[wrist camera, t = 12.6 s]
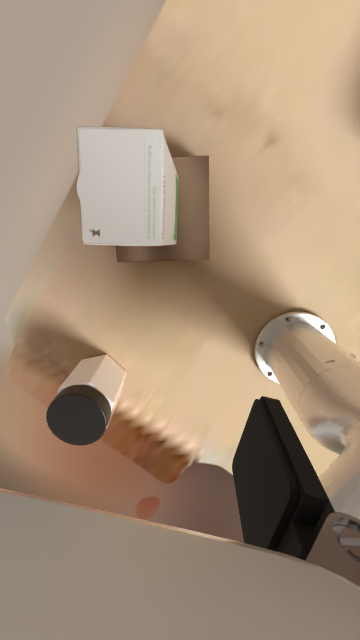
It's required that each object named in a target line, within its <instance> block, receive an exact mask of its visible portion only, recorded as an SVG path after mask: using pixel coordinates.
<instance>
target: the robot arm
mask: <svg viewBox="0 0 360 640" xmlns="http://www.w3.org/2000/svg"><path fill="white" fill-rule="evenodd" d="M287 317H288V319H286V318H287ZM320 325H321V326H320ZM260 342H262V343H260ZM254 354H255V359H256V363H257V365H258V367H259V369H260V370H261V372H262V373H263V374H264V375H265V376H266V377H267V378H268V379H270V380H271V381H273V382H276V383H278V384H280V385H281V387H282V389H283V391H284V392H285V394H286V396H287V397H288V399H289V401H290V403H291V404H292V406H293V408H294V409H295V411H296V413H297V415H298V416H299V418H300V420H301V421H302V423H303V425H304V427H305V428H306V430H307V431H308V433H309V434H310V435H311V436H312V438H313V439H314V440H315V441H317V442H318V443H319V444H320V445H322V446H323V447H325V448H326V449H328V450H330V451H332V452H335V453H337V454H339V456H338V457H337V458H336V459H335V460H334V461H333V462H332V463H331V464H330V465H329V467H328V468H327V469H326V470H325V471H324V472H323V473H322V474H321V475H320V476H319V477H318V476H317V474H316V472H315V470H314V468H313V466H312V464H311V462H310V460H309V458H308V456H307V454H306V452H305V450H304V448H303V446H302V444H301V442H300V440H299V438H298V436H297V434H296V432H295V430H294V429H293V427H292V425H291V423H290V421H289V419H288V417H287V415H286V413H285V411H284V409H283V407H282V405H281V403H280V401H279V400H277V399H272V398H268V397H264V396H262V397H261V398H260V400H258V399H256V400H255V401H254V403H253V406H252V408H251V411H250V414H249V417H248V420H247V422H246V425H245V428H244V431H243V434H242V436H241V439H240V442H239V445H238V447H237V450H236V453H235V456H234V459H233V464H232V470H233V477H234V482H235V489H236V495H237V501H238V506H239V513H240V519H241V525H242V531H243V538H244V543H242V542H238V541H234V540H229V539H225V538H220V537H216V536H212V535H207V534H203V533H199V532H195V531H191V530H186V529H182V528H177V527H172V526H168V525H164V524H159V523H155V522H150V521H146V520H141V519H137V518H132V517H128V516H123V515H119V514H115V513H110V512H106V511H100V510H96V509H92V508H87V507H83V506H78V505H74V504H69V503H64V502H60V501H55V500H50V499H45V498H41V497H37V496H32V495H27V494H23V493H18V492H13V491H8V490H4V489H0V640H360V362H359V361H357V360H356V357H355V355H354V354H350V353H347V352H346V351H345V350H344V349H342V348H341V347H340V346H338V345H337V344H336V342H335V336H334V334H333V332H332V330H331V328H330V327H329V325H328V324H327V323H326V322H325V321H323V320H322V319H321V318H319V317H318V316H316V315H313V314H311V313H307V312H296V311H295V312H289V313H285V314H282V315H279V316H277V317H276V318H274V319H272V320H271V321H270V322H268V323H267V324H266V325H265V326H264V328H263V329H262V330H261V331H260V333H259V335H258V337H257V339H256V342H255V348H254Z"/></svg>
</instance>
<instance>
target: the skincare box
mask: <svg viewBox="0 0 360 640" xmlns="http://www.w3.org/2000/svg"><path fill="white" fill-rule="evenodd" d="M77 145H78V175H79V176H78V179H77V185H76V187H77V194H78V197H79V199H80V211H81V229H82V242H83V243H84V244H85V245H114V246H163V245H174V244H176V239H177V202H178V175H177V172H176V169H175V166H174V163H173V160H172V157H171V155H170V152H169V149H168V146H167V143H166V140H165V137H164V134H163V130H162V129H149V128H122V127H84V126H78V127H77Z"/></svg>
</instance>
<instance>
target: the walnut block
mask: <svg viewBox="0 0 360 640" xmlns="http://www.w3.org/2000/svg"><path fill="white" fill-rule="evenodd" d="M172 160H173V163H174V166H175V169H176V172H177V175H178V202H177V239H176V244H174V245H163V246H116V251H117V261H118V262H141V261H174V260H207V259H209V156H192V157H172Z"/></svg>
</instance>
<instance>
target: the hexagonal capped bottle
mask: <svg viewBox="0 0 360 640" xmlns="http://www.w3.org/2000/svg"><path fill="white" fill-rule="evenodd" d="M125 377H126V371H125V370H124V369H123V368H122V367H121V366H119V365H118V364H117V363H116V362H115V361H114V360H113V359H112V358H111V357H110V356H109V355H107V354H105V355H101V356H96V357H91V358H87V359H82V360H81V361H80V362H79V364H78V365H77V366H76V367H75V369H74V370H73V371H72V372H71V374H70V375H69V376H68V377H67V379H66V380H65V381H64V382H63V384H62V385H61V386H60V387H59V389H58V394H57V396H56V397H55V399H54V400H53V401H52V403H51V404H50V405H49V407H48V410H47V415H46V418H47V423H48V426H49V428H50V430H51V431H52V433H53V434H54V435H55V436H56V437H58V438H59V439H60V440H62V441H64V442H66V443H69V444H72V445H88V444H91V443H93V442H96V441H97V440H99V439H100V438H101V437H102V436H103V434H104V433H105V431H106V429H107V427H108V425H109V422H110V420H111V417H112V415H113V412H114V410H115V407H116V405H117V402H118V400H119V397H120V395H121V391H122V388H123V384H124V380H125Z"/></svg>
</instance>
